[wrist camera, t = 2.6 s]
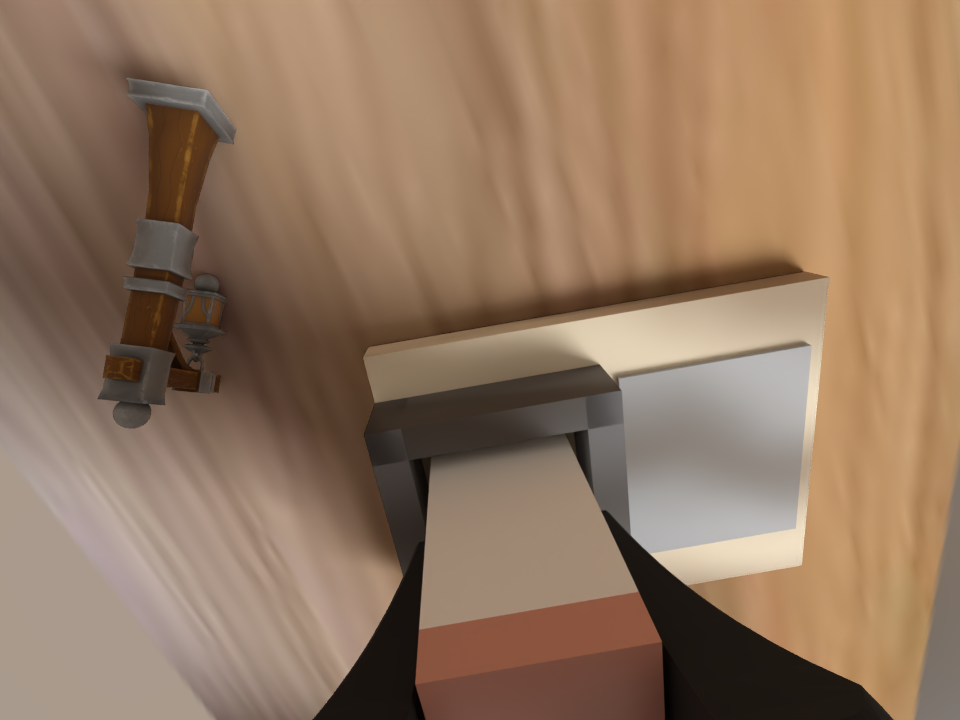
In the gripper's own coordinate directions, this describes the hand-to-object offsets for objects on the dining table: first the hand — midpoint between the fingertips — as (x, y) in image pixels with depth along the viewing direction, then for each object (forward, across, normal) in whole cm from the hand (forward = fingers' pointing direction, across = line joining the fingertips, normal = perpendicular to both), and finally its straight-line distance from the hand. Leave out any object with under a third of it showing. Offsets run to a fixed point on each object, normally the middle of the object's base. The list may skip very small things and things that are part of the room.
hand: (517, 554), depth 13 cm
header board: (+4, -4, 0) cm, 5 cm away
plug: (+3, 0, 0) cm, 3 cm away
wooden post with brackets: (+4, +7, -9) cm, 12 cm away
